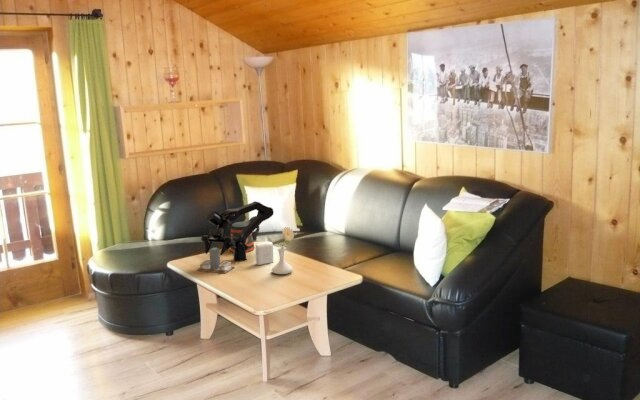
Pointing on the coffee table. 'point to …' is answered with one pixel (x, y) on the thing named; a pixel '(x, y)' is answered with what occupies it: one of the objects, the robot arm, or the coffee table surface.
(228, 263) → the board
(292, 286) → the coffee table surface
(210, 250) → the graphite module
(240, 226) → the beer stein
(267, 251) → the photo printer
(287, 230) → the flower in vase
